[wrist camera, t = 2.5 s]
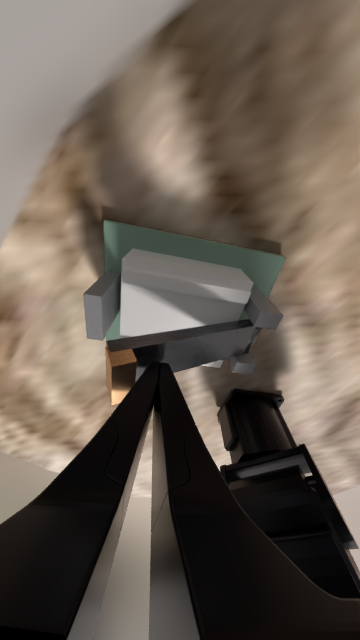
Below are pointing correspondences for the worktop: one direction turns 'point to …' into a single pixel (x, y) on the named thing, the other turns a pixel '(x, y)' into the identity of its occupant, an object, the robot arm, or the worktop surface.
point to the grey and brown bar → (174, 351)
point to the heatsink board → (179, 286)
